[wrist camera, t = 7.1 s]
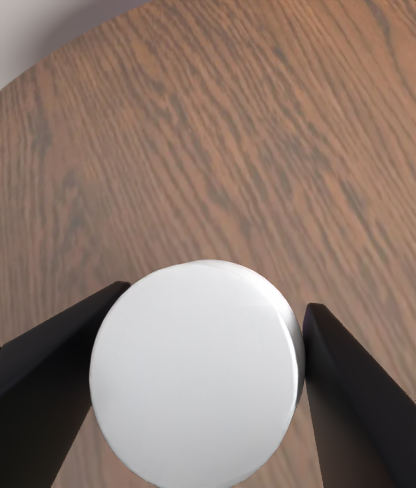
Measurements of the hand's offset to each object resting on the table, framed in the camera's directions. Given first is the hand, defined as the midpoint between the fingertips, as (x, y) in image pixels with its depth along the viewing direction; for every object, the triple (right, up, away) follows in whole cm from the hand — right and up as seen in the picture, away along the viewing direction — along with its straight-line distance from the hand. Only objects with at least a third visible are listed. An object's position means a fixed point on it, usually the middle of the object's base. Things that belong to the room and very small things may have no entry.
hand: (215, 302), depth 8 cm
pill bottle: (+1, -3, +6) cm, 7 cm away
